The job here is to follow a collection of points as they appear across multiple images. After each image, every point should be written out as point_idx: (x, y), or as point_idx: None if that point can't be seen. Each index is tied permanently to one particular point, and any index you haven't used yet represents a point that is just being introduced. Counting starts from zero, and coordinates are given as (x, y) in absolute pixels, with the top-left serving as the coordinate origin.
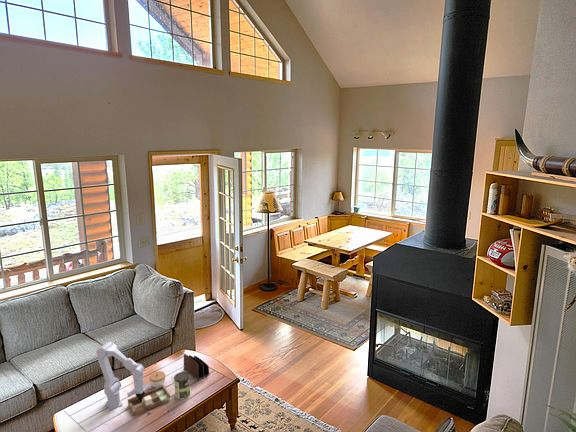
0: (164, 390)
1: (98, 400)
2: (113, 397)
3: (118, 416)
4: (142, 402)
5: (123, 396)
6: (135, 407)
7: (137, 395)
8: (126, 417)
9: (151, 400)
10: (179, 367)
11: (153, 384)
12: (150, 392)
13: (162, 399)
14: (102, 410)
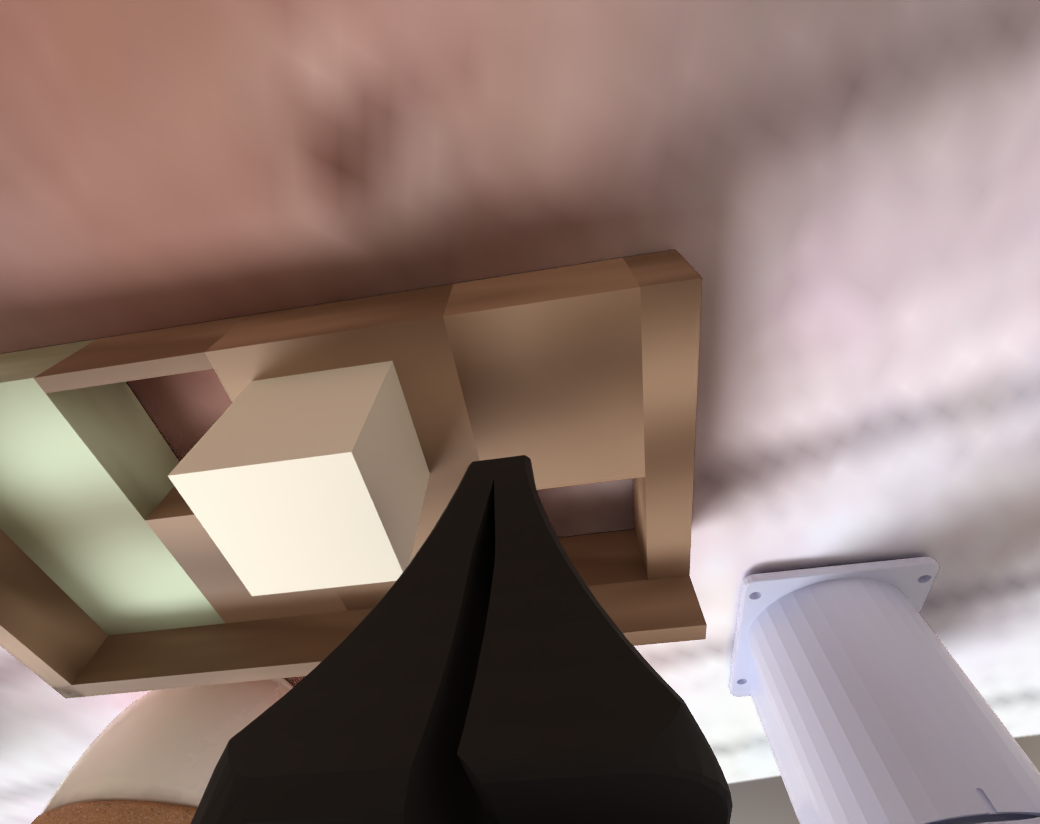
0: (27, 598)
1: None
2: (1003, 779)
3: (915, 378)
4: None
5: (668, 682)
6: (616, 422)
7: (666, 805)
8: (819, 279)
9: (218, 431)
10: (30, 799)
11: None
12: (297, 639)
13: (19, 404)
14: (998, 586)
